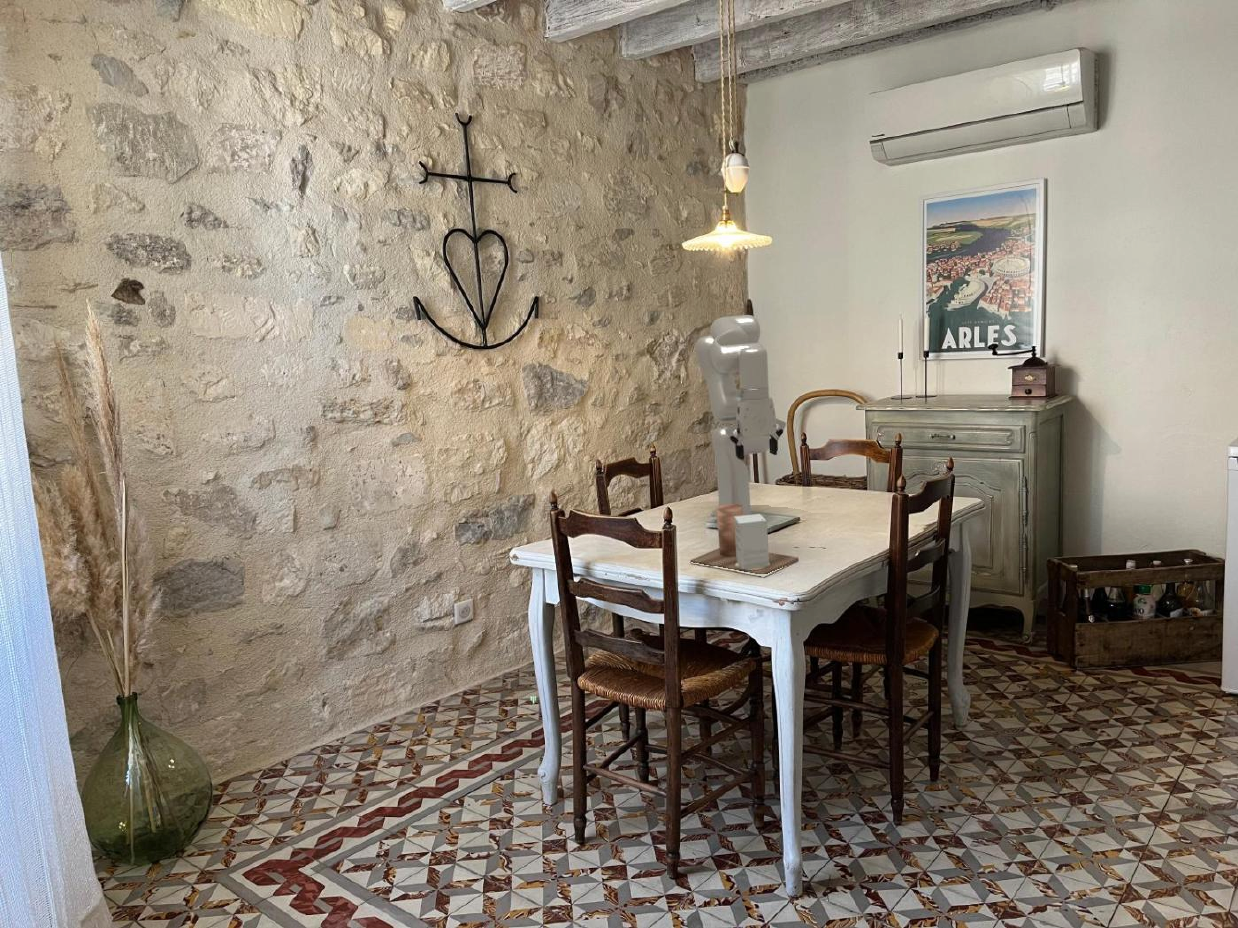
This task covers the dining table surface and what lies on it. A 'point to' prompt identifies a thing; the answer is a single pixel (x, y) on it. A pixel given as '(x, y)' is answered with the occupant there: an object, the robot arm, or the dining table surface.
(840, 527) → the dining table surface
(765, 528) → the supplement box
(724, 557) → the board
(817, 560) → the dining table surface
